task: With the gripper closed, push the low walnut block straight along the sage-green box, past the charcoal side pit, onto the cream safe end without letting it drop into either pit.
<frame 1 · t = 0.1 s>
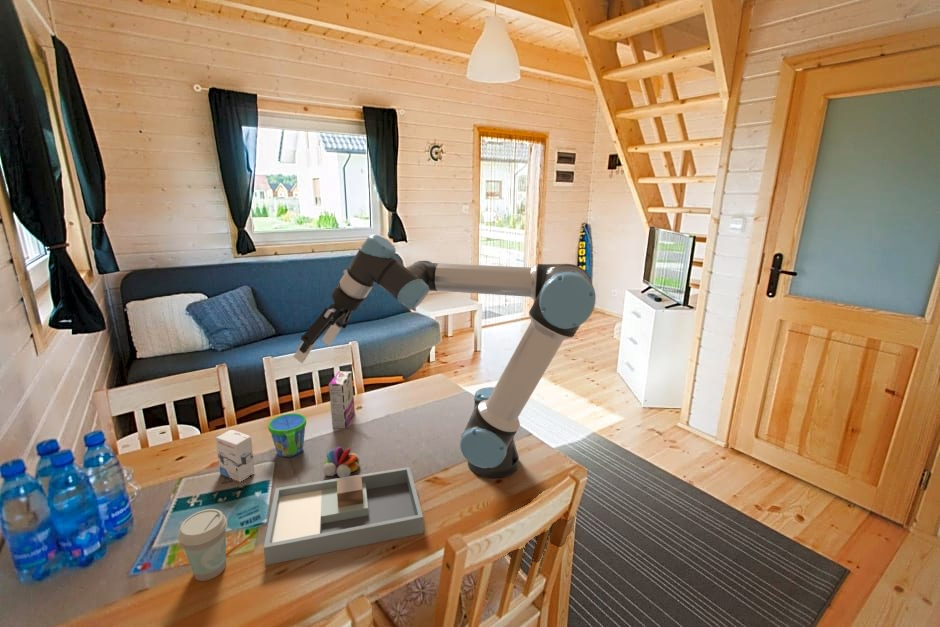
hand: (312, 350, 117), 36 cm above the table, tool tilted 35°, fingers open, 13 cm apart
coffee cup: (210, 570, 92), on the table
candy bar box: (343, 421, 153), on the table
snack cup: (290, 451, 134), on the table
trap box: (347, 517, 107), on the table
walnut block: (350, 497, 111), point 2 cm above the table, touching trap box
rainbow wheeled toy: (342, 471, 126), on the table
ink box: (238, 474, 123), on the table
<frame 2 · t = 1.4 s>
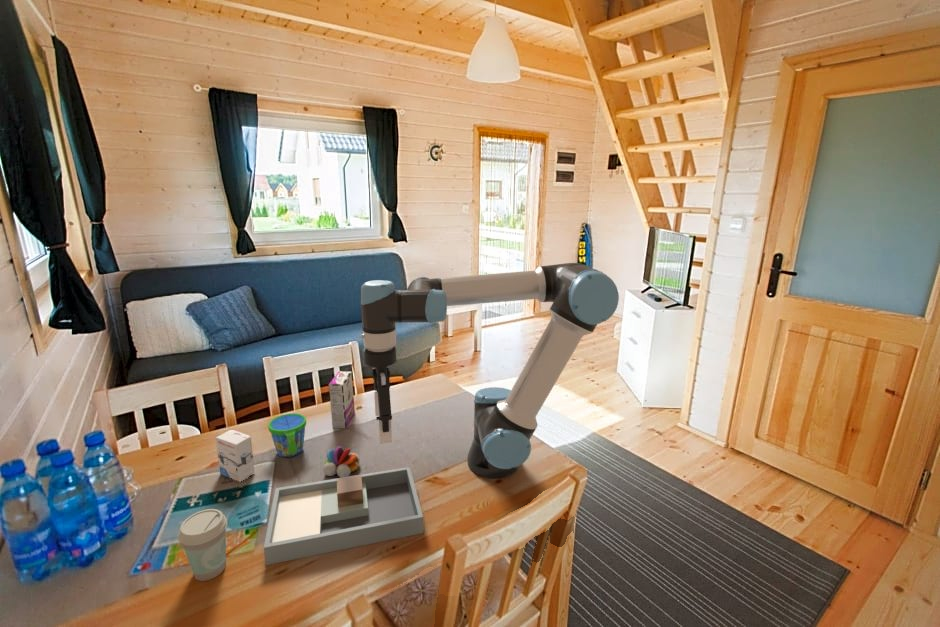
hand: (383, 427, 109), 21 cm above the table, tool pointing down, fingers open, 13 cm apart
nothing on the table moved.
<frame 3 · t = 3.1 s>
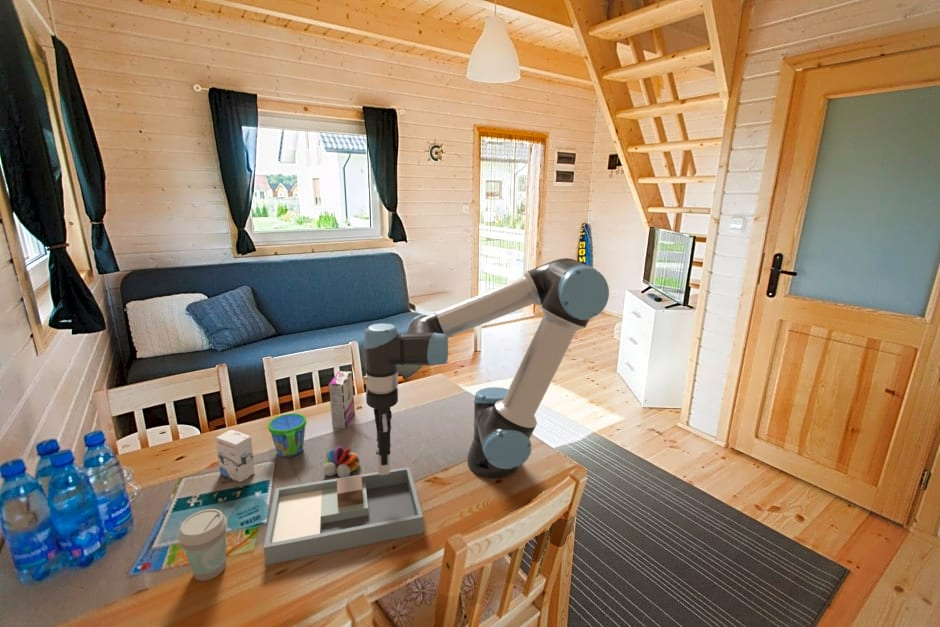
hand: (384, 472, 112), 8 cm above the table, tool pointing down, fingers closed
nothing on the table moved.
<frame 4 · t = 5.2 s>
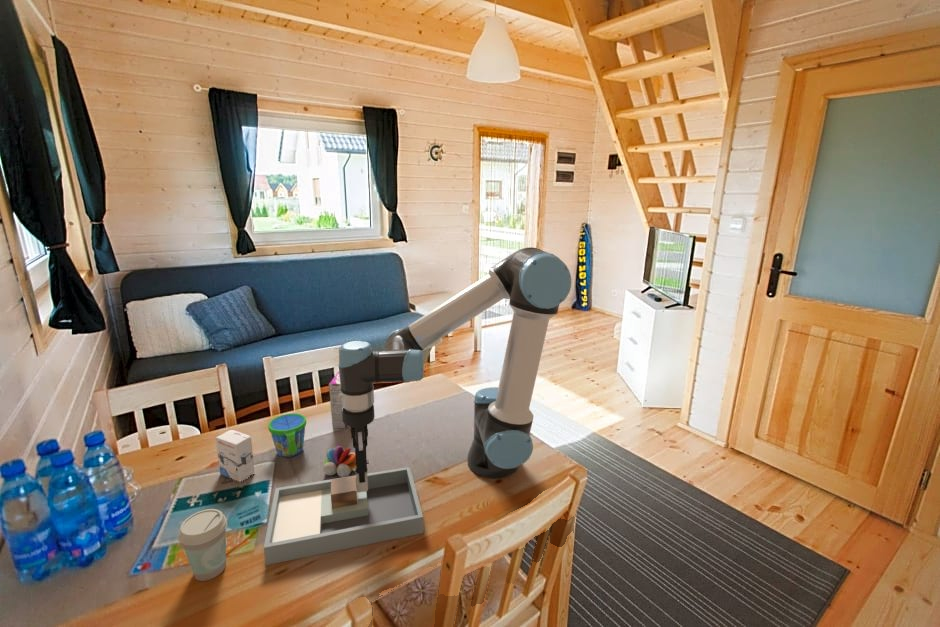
hand: (362, 489, 111), 4 cm above the table, tool pointing down, fingers closed
walnut block: (344, 498, 110), point 3 cm above the table, touching gripper, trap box
everything else where it was.
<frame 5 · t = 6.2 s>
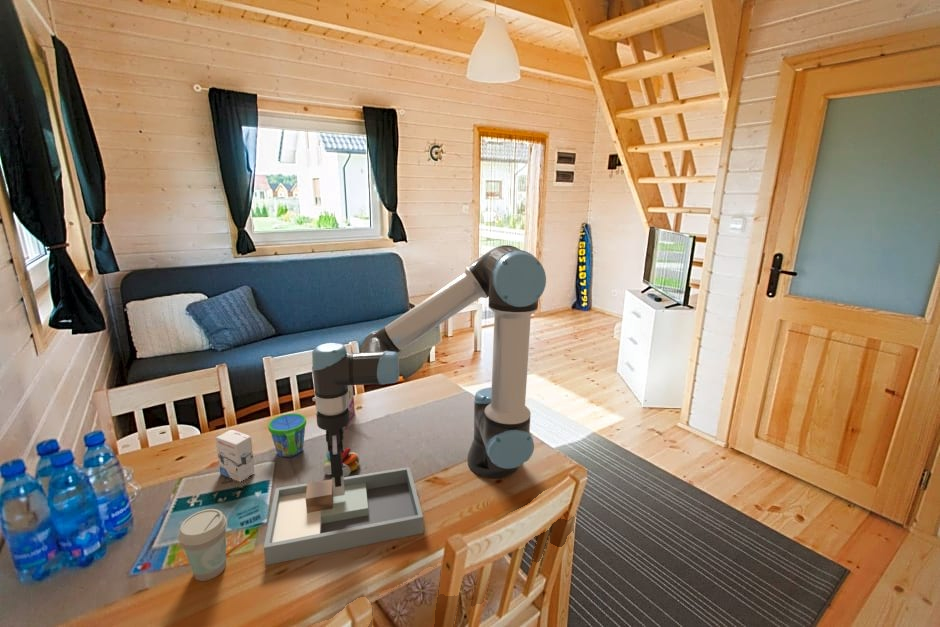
hand: (338, 493, 110), 4 cm above the table, tool pointing down, fingers closed
walnut block: (320, 502, 109), point 2 cm above the table, touching gripper, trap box
everything else where it was.
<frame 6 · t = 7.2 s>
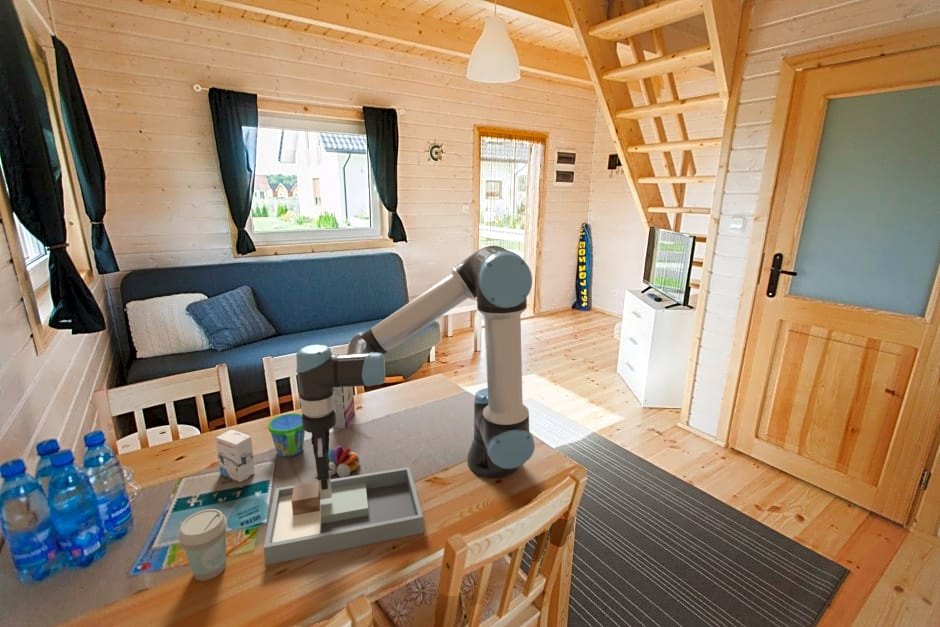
hand: (325, 496, 109), 4 cm above the table, tool pointing down, fingers closed
walnut block: (307, 504, 108), point 2 cm above the table, touching gripper, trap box
everything else where it was.
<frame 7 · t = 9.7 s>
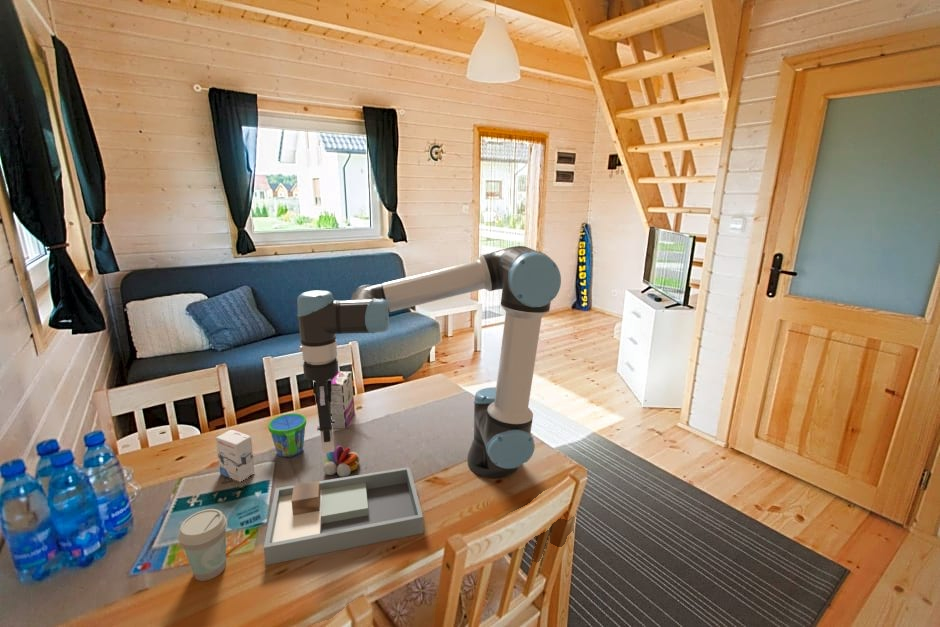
hand: (328, 450, 106), 17 cm above the table, tool pointing down, fingers closed
walnut block: (307, 504, 108), point 2 cm above the table, touching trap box
everything else where it was.
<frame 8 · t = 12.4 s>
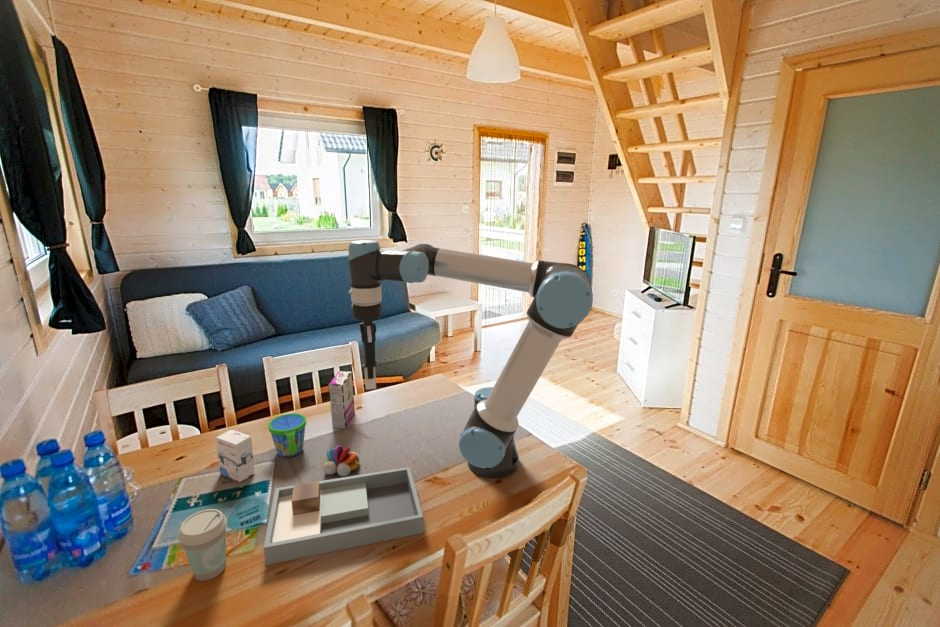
hand: (370, 387, 117), 26 cm above the table, tool pointing down, fingers closed
nothing on the table moved.
at the end: walnut block inside the target area on the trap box (4.3 cm from its centre), point 2.5 cm above the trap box's base; walnut block tilted 0° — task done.
